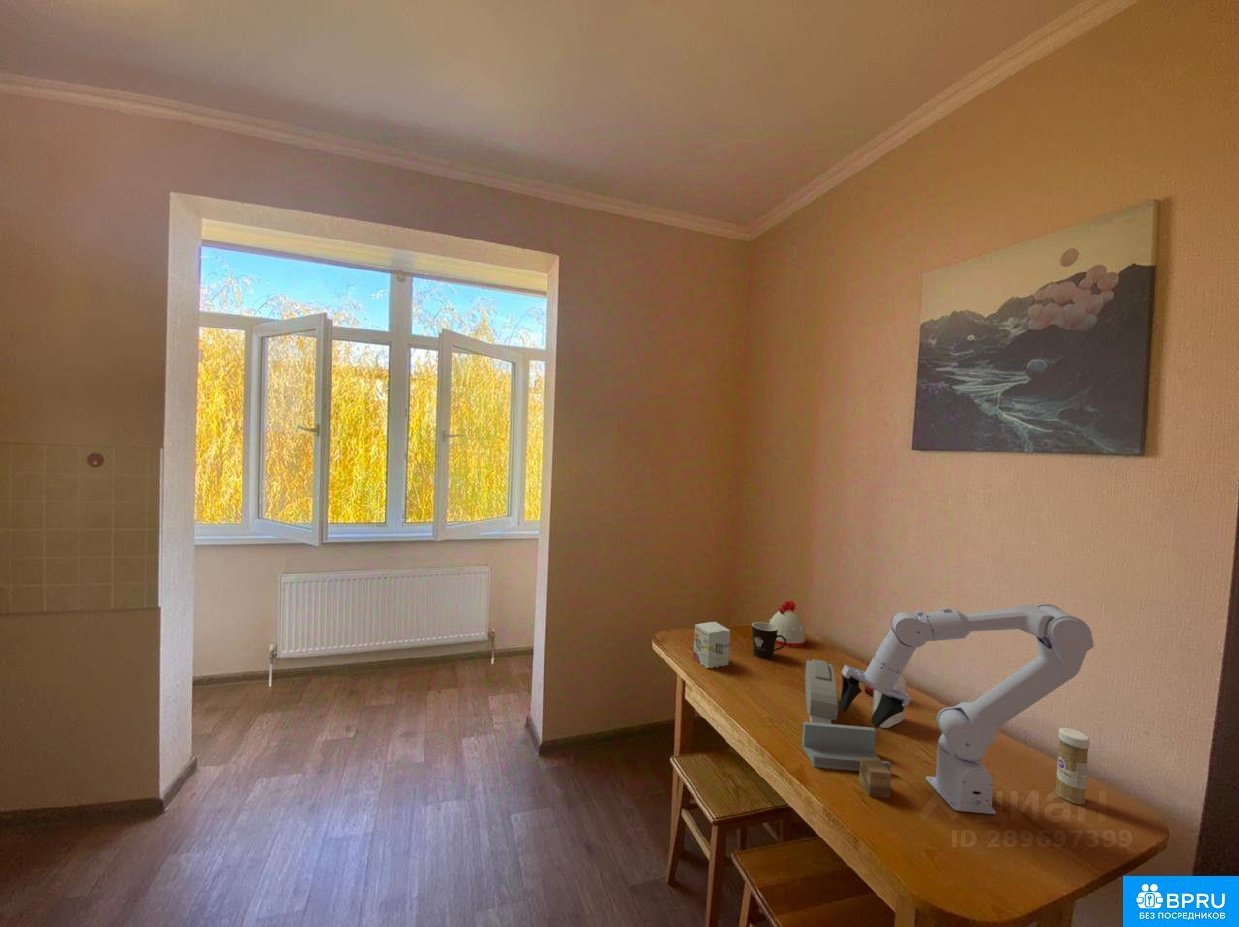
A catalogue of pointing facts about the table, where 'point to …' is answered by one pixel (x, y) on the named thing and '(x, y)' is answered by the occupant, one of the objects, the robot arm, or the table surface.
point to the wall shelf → (839, 745)
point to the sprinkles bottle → (1072, 765)
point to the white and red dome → (788, 626)
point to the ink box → (711, 644)
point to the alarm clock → (821, 692)
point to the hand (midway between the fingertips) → (857, 716)
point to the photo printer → (896, 718)
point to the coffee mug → (765, 639)
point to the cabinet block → (875, 777)
